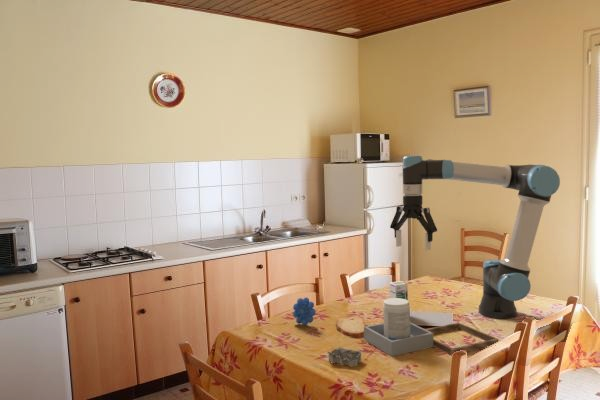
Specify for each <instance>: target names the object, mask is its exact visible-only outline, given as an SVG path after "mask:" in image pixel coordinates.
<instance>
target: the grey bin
mask: <svg viewBox="0 0 600 400" xmlns="http://www.w3.org/2000/svg"><path fill="white" fill-rule="evenodd" d="M433 339H434V334H433V333H432V332H430V331H428V330H425V328H423V327H421V326H419V325H417V324H414V323H412V322H411V321H410V337H407V338H403V339H398V340H393V341H392V340H390V339H388V338H386V337H384V322H382V323H377V324H371V325H370V324H369V325H365V327H364V338H363V340H364V341H365V342H367V343H369V344H370V345H372V346H374V347H375V348H377V349H379V350H380V351H382V352H384V353H385V354H386V355H389V356H390V357H395V356H398V355H404V354H408V353H413V352H415V351H422V350H426V349H430V348H434V346H433Z"/></svg>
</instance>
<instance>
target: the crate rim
mask: <svg viewBox="0 0 600 400" xmlns="http://www.w3.org/2000/svg"><path fill="white" fill-rule="evenodd" d="M424 329H425V328H424ZM457 329H458V330H460V331H463V332H465V333H467V334H470V335H472V336H475V337H477V338H479V339H481V340H484V341H479V342H475V343H470V344H466V345H462V346H459V347H451V346H449V345H446V344H444V343H442V342H440V341H438V340H437V339H435V338H433V347H434V348H437V349H438V350H441V351H443V352H445V353H447V354H449V355H451V356H452V354H453V353H454V352H456V351H460V350H466V351H467V352H466V353H468V352H473V351H478V350H481V349H486V348H485V347H487V346H490V345H492V344H494V343H496V342H498V341H499V338H496V337H494V336H491V335H489V334H487V333H484V332H481V331H480V330H477V329H475V328H473V327H470V326H469V325H465V324H464V323H460V322H454V323H449V324H444V325H439V326H435V327H434V326H433V327H428V328H426V329H425V330H428V331H430V332H432V333H433V335H434V334H439V333H443V332H447V331H448V332H449V331H452V330H457ZM487 348H488V347H487Z"/></svg>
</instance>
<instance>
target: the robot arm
mask: <svg viewBox="0 0 600 400" xmlns="http://www.w3.org/2000/svg"><path fill="white" fill-rule="evenodd" d="M560 179H561V178H560V175H559V174H558V172H557V171H556V170H555V169H554V168H553V167H551V166H548V165H545V164H523V165H522V164H521V165H516V164H515V165H512V164H506V165H505V166H497V165H490V164H489V165H488V164H478V163H468V162H458V161H453V160H451V159H429V158H428V159H426V160H424V159H423V156H422V155H405V156H403V158H402V194H403V196H402V204H403V206H402V205H398V206H396V212H395V213H394V217H393V218H392V221H391V223H390V225H389V226H390V227H389V228H390V229H393V230H394V239H395V245H396V246H395V247H402V243H403V242H402V229H401V228H402V226H403V225H404V223H405V222H406V221H407V220H408V219H413V220H415V219H416V220H418V222H419V223H420V225H421V226H422V227H423V229H424V230H425V232H426V233H425V234H424V236H425V237H424V238H425V239H424V241H425V242H424V243H425V244H424V245H425V246H424V247H425V249H424V250H425V251H429V250H432V242H433V237H434V236H433V235H434V234H433V233H435V232H438V229H437V226H436V223H435V220H434V219H433V217H432V214H431V210H430V207H424V208H423V196H422V195H423V180H451V181H460V182H469V183H476V184H477V183H480V184H487V185H488V184H489V185H498V186H502V188H503V189H511V190H516V191H518V194H517V196H518V198H519V200H520V203H519V205H518V209H517V213H516V216H515V220H514V223H513V227H512V232H511V235H510V239H509V242H508V246H507V250H506V253H505V257H504V258H503V259H487V260H485V261H483V263H482V264H483V267H482V272H483V273H482V278H483V279H482V284H483V285H482V289H483V292H482V297H481V299H480V303H479V305H478V313H479V314H480V315H482V316H484V317H486V318H487V317H488V318H491V319H492V318H493V319H512V318H515V317H517V313H518V311H517V309H518V308H517V307H516V305H515V302H516V301H517V302H518V301H520V300H522V299H525V298H526V297H527V296H528V295H529V293H530V291H531V286H532V285H531V281H530V279H529V276H530V274H531V269H530V267H529V265H528V263H529V261H530V257H531V255H532V254H531V253H532V249H533V247H534V242H535V239H536V235H537V232H538V228H539V225H540V221H541V218H542V214H543V211H544V207H545V206H546V205H548V204H550V202H551V199H552V196H553V195H554V194H555V193H557V191H558V190H559V188H560V185H561V180H560ZM402 213H403V215H402Z"/></svg>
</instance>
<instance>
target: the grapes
mask: <svg viewBox="0 0 600 400" xmlns="http://www.w3.org/2000/svg"><path fill="white" fill-rule="evenodd" d="M314 307H315V303H314V302H313V301H311V300H310V299H309V298H308V297H304V298H302V297H300V298H297V300H296V303H294V304H293V306H292V309H293V310H294V311H293V312H292V317H293V318H296V319H295V320H296V323H297V324H299V325H300V324H302V325H303V326H307V325H308V324H311V323H313V321H314V316H315V315H316V309H315V308H314Z"/></svg>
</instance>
